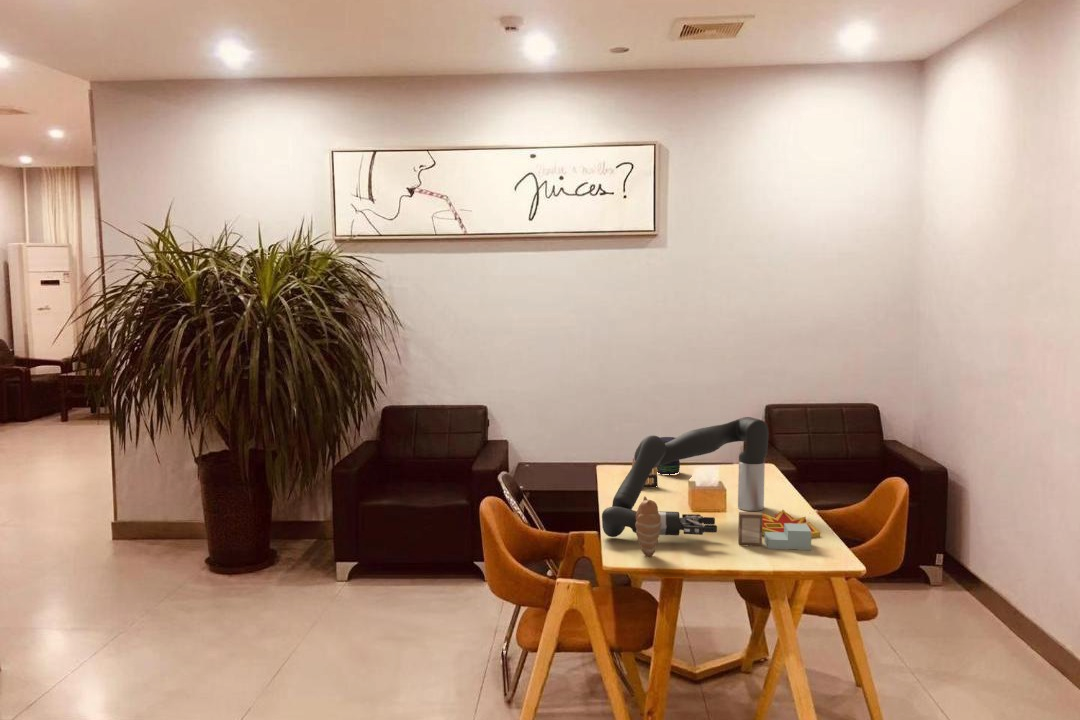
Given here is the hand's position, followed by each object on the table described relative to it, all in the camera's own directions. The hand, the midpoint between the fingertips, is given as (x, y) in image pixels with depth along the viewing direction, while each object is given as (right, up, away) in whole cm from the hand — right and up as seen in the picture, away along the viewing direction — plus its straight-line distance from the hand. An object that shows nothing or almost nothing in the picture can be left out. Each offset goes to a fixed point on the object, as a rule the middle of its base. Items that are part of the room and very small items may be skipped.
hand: (715, 524), depth 273 cm
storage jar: (-1, +4, +96) cm, 96 cm away
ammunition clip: (-14, +1, +73) cm, 74 cm away
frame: (+11, -6, -1) cm, 12 cm away
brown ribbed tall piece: (-23, -7, -11) cm, 27 cm away
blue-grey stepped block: (+22, -6, -2) cm, 23 cm away
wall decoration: (+27, -5, +18) cm, 33 cm away
